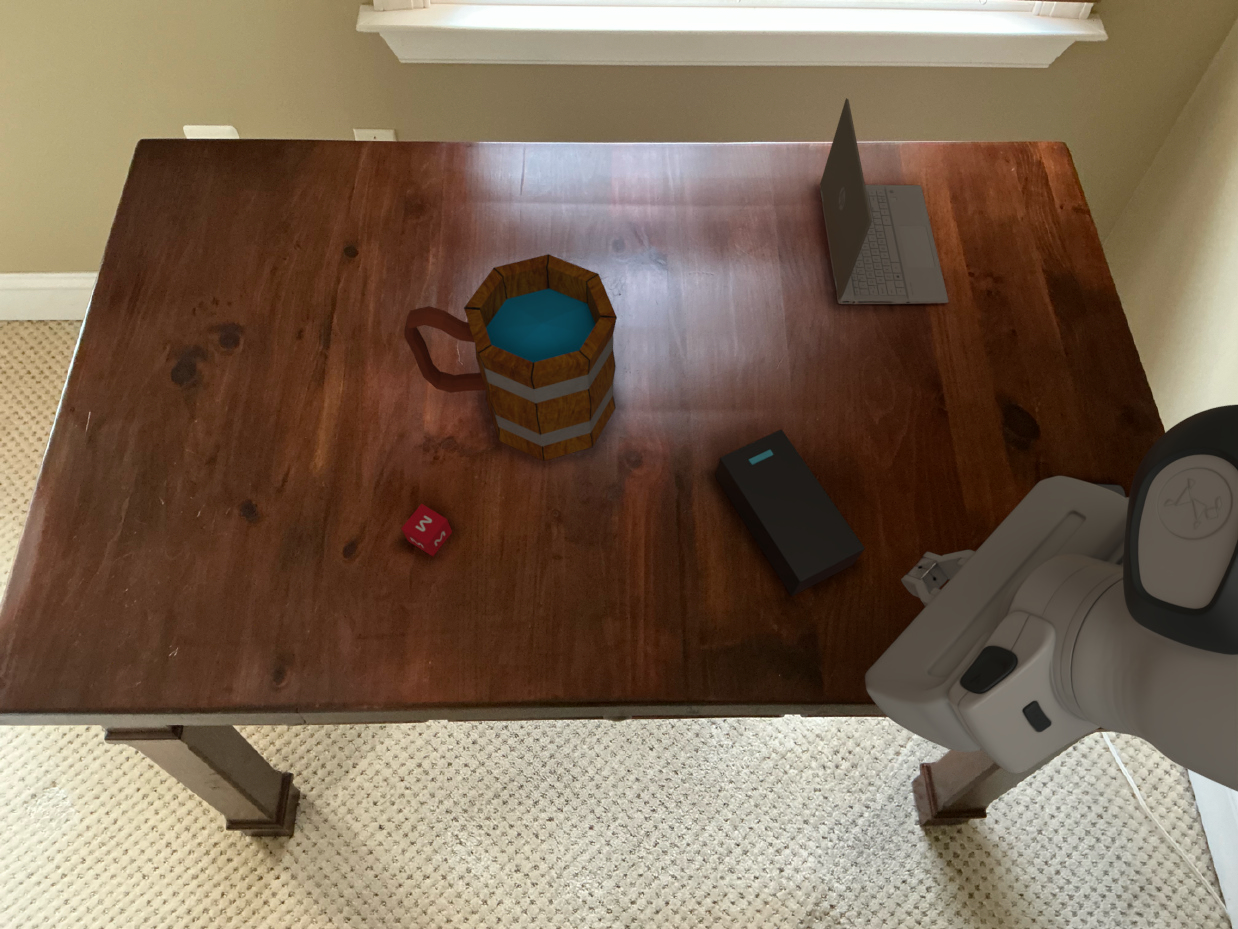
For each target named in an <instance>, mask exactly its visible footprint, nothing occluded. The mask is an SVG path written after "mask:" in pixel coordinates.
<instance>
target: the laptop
mask: <svg viewBox="0 0 1238 929" xmlns="http://www.w3.org/2000/svg"><path fill="white" fill-rule="evenodd" d="M839 117H840V118H839V120H838V123H837V125H836V130H835V133H834V137H833V140H832V143H831V147H830V150H829V153H828V157H827V160H826V163H825V166H824V169H823V172H822V176H821V180H820V182H819V185H820V187H819V191H820V196H821V202H822V212H823V217H824V218H823V219H824V225H825V231H826V236H827V237H826V238H827V243H828V249H829V250H828V251H829V255H830V262H831V268H832V275H833V282H834V284H835V285H834V286H835V290H836V293H835V295H836V299H837V300H836V301H837V304H841V305H901V304H902V305H905V304H906V305H907V304H914V305H915V304H948V303H949V297H948V293H947V288H946V284H945V280H944V276H943V271H942V268H941V263H940V259H939V255H938V251H937V246H936V242H935V238H934V234H933V230H932V225H931V221H930V217H929V213H928V209H927V204H926V200H925V196H924V191H923V188H922V185H919V184H866V182H865V176H864V171H863V166H862V162H861V156H860V151H859V146H858V142H857V137H856V136H857V135H856V130H855V125H854V121H853V120H854V119H853V116H852V110H851V105H850V100H849V98H847V97H846V98H845V100H844V103H843V106H842V110H841V113H840V116H839Z"/></svg>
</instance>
